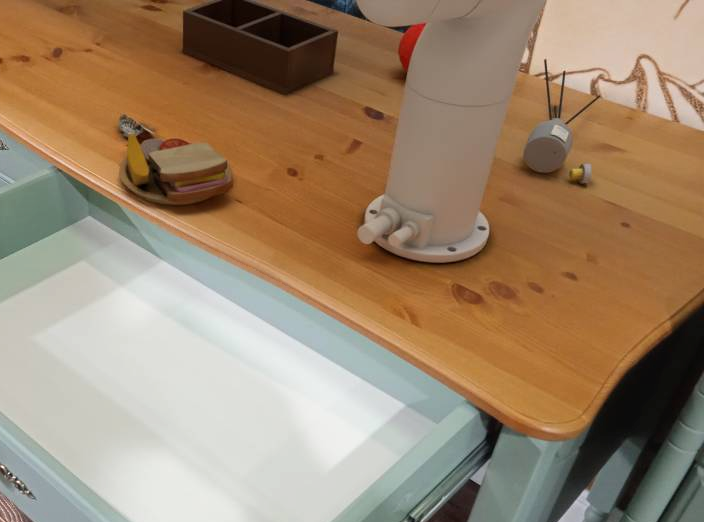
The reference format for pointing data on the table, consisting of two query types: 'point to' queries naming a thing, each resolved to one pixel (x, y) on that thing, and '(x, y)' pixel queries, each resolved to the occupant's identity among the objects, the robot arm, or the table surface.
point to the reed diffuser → (554, 142)
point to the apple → (409, 44)
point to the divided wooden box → (260, 43)
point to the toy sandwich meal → (174, 171)
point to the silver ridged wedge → (130, 126)
